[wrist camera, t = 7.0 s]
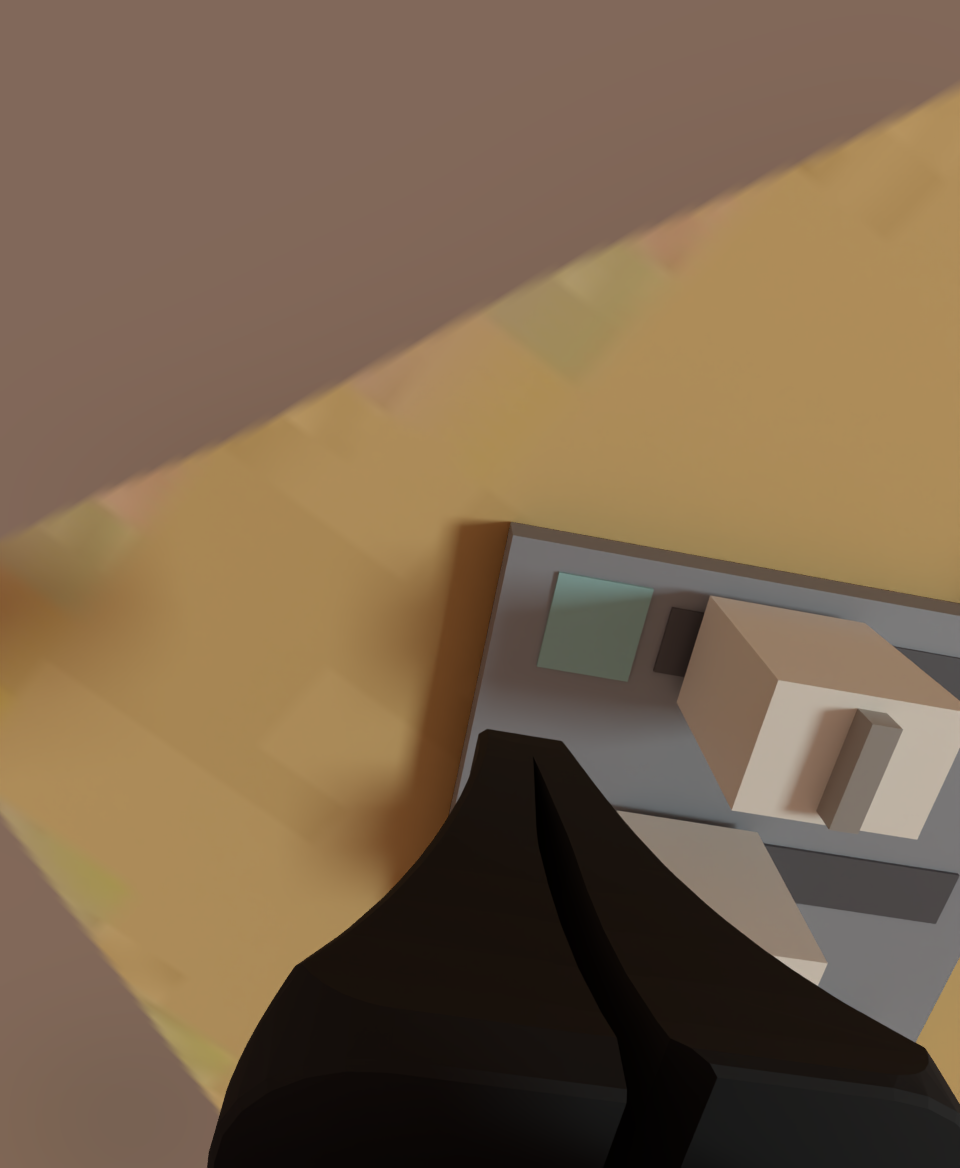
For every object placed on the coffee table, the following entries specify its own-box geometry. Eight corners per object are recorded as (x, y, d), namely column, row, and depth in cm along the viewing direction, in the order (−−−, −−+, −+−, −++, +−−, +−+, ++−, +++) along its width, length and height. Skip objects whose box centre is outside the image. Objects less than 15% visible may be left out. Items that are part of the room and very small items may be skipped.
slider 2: (725, 917, 22) (794, 1084, 18) (590, 897, 22) (623, 1062, 17) (757, 832, 21) (839, 985, 17) (616, 810, 21) (659, 960, 16)
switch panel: (855, 1091, 27) (873, 1129, 26) (403, 1031, 26) (399, 1068, 25) (1086, 626, 21) (1124, 646, 20) (510, 522, 20) (513, 536, 19)
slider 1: (824, 727, 20) (932, 859, 15) (676, 702, 20) (741, 829, 15) (864, 623, 19) (994, 729, 14) (710, 595, 19) (790, 695, 14)
